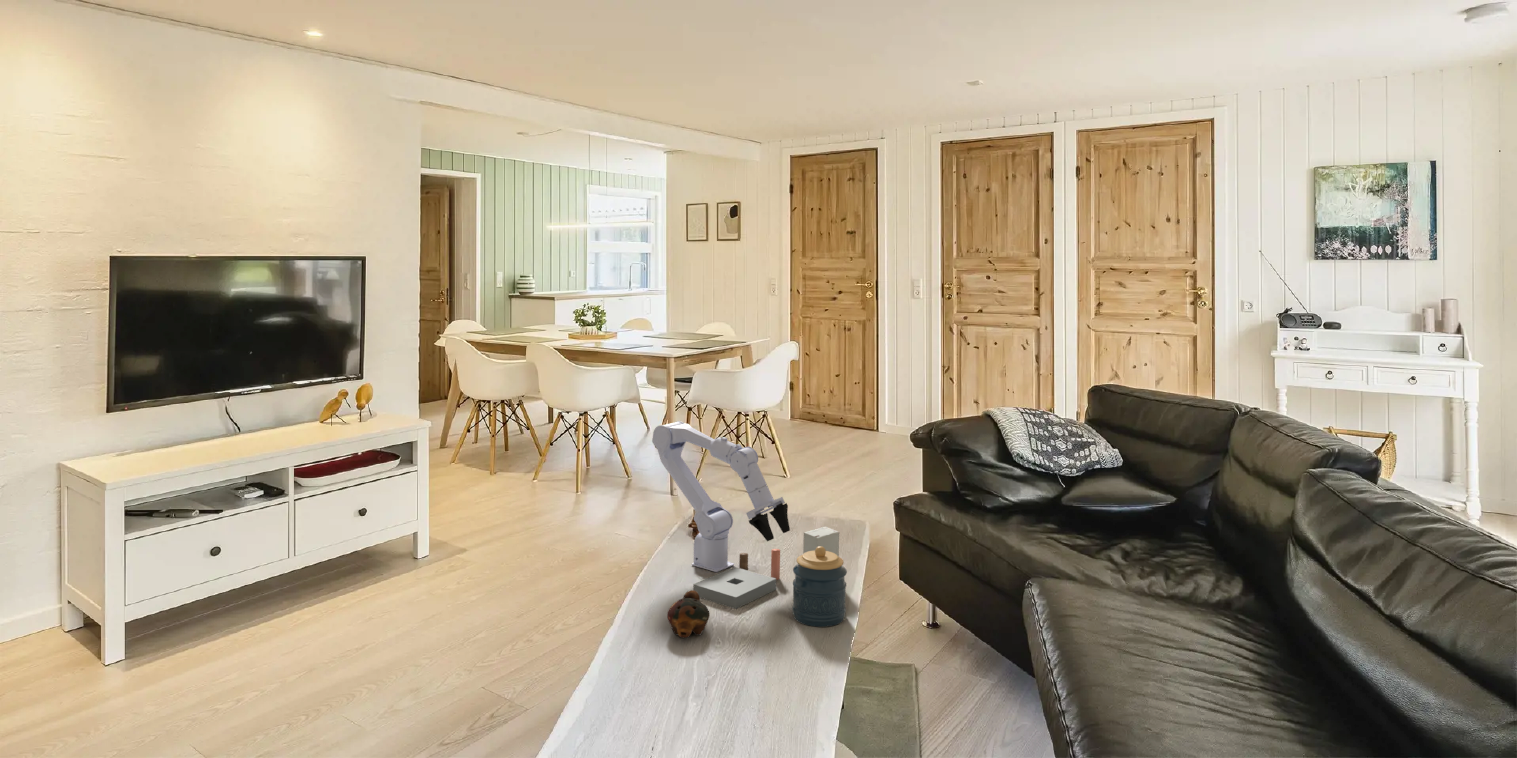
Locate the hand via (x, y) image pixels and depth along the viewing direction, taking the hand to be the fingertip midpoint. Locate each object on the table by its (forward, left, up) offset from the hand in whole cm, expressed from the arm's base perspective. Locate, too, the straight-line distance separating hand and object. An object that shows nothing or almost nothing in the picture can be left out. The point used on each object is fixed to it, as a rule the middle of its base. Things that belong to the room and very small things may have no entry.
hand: (778, 536), depth 228 cm
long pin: (-2, +1, -13) cm, 13 cm away
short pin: (-13, +1, -13) cm, 18 cm away
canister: (+22, -14, -13) cm, 29 cm away
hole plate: (-4, -14, -12) cm, 19 cm away
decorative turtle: (+3, -40, -13) cm, 42 cm away
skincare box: (+10, +5, -13) cm, 17 cm away
